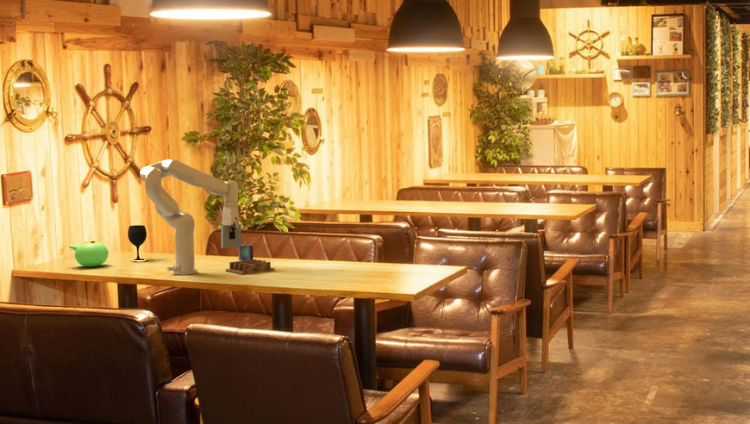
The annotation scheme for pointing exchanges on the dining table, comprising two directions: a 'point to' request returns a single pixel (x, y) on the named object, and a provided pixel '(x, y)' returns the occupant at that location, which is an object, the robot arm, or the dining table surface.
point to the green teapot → (90, 253)
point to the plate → (225, 237)
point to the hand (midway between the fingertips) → (231, 238)
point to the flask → (246, 252)
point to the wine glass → (137, 237)
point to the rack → (249, 267)
